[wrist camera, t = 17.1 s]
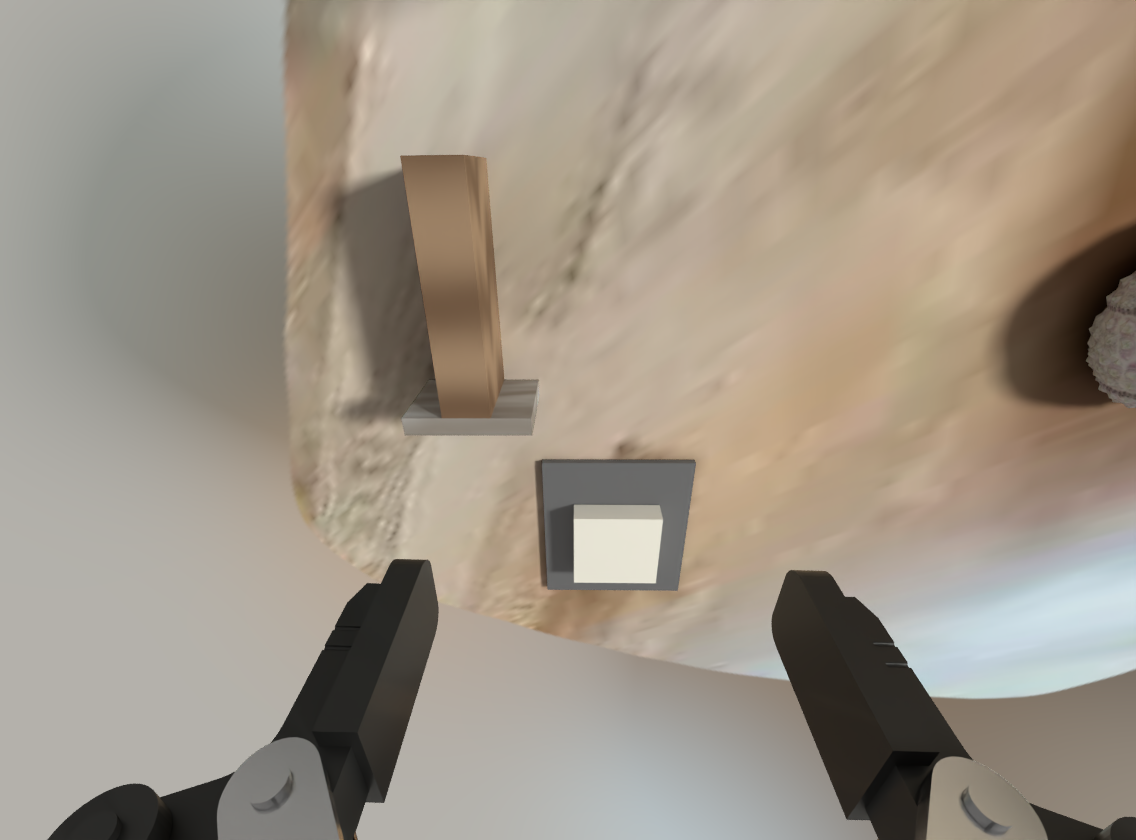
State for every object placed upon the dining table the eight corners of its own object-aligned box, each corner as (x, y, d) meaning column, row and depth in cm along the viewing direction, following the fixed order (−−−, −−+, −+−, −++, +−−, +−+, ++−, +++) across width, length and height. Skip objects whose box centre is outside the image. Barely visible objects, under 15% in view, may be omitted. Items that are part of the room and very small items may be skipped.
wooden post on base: (392, 159, 27) (347, 156, 22) (528, 157, 27) (517, 154, 22) (431, 394, 34) (404, 435, 29) (539, 394, 34) (532, 435, 29)
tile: (573, 519, 36) (573, 582, 40) (663, 519, 36) (655, 583, 40) (573, 503, 38) (574, 565, 41) (659, 504, 38) (652, 566, 41)
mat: (542, 459, 37) (541, 463, 36) (694, 459, 36) (695, 463, 36) (547, 585, 43) (547, 589, 43) (676, 586, 43) (677, 590, 43)
